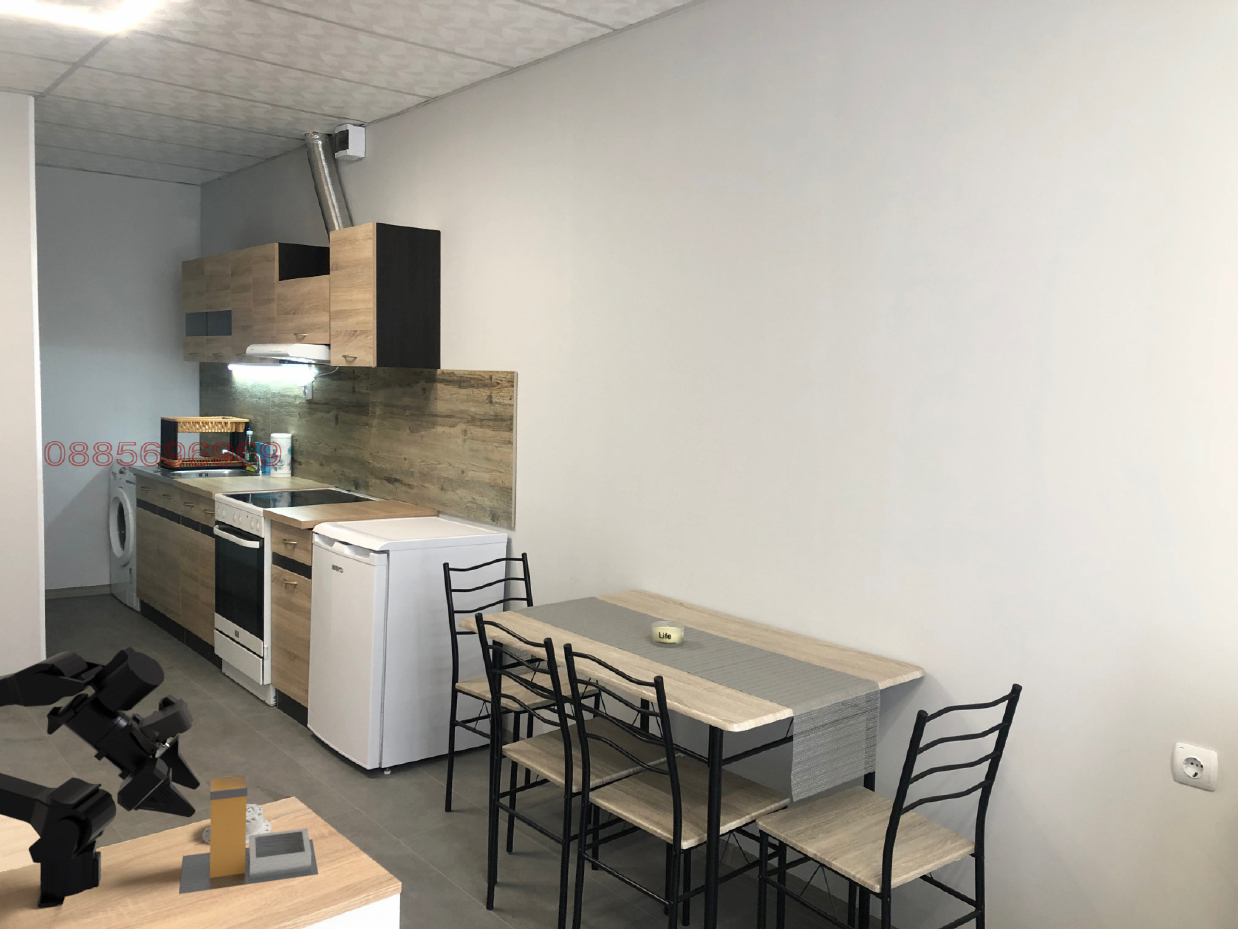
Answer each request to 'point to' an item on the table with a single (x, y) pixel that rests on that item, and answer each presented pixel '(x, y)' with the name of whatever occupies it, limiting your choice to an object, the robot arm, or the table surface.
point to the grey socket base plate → (256, 862)
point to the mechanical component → (248, 823)
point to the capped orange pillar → (228, 825)
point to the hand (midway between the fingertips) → (195, 800)
